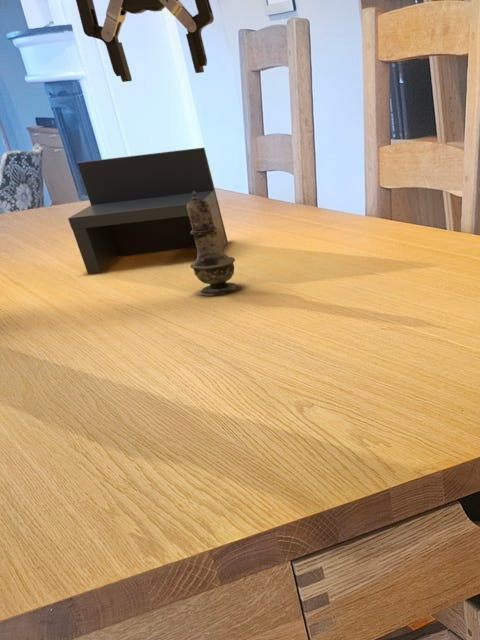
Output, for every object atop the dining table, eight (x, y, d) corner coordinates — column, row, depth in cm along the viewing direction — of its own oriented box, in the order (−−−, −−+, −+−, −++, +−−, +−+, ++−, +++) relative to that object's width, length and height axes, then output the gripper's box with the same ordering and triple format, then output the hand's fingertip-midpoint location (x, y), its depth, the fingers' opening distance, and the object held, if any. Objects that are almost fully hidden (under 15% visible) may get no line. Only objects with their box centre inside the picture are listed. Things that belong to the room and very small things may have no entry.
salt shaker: (230, 283, 115) (205, 185, 107) (249, 288, 111) (225, 187, 104) (190, 293, 112) (162, 193, 105) (209, 298, 108) (181, 195, 101)
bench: (87, 274, 129) (51, 172, 121) (110, 256, 140) (79, 162, 132) (215, 259, 130) (189, 156, 121) (228, 242, 141) (204, 147, 133)
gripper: (188, -110, 91) (228, 69, 100) (58, -95, 90) (110, 83, 100) (175, -121, 85) (219, 71, 94) (35, -106, 84) (93, 85, 94)
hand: (163, 77), depth 97 cm, fingers open, 8 cm apart
